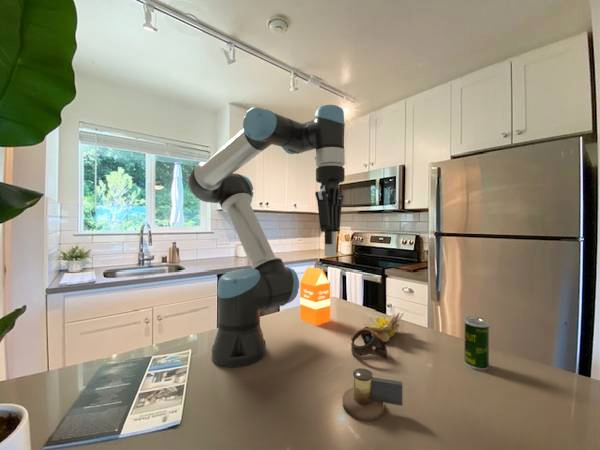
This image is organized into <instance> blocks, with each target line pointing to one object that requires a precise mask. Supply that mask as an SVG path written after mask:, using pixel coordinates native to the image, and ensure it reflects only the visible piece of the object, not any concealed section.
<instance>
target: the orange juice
mask: <svg viewBox="0 0 600 450" xmlns="http://www.w3.org/2000/svg"><path fill="white" fill-rule="evenodd" d="M327 277H328V276H327V275H326V274H325V271H324V269H323V268H315V267H311V266H307V268H306V269H305V271H304V274H303V275H302V277H301V279H300V281H299V289H300V293H299V294H300V296H299V298H300V300H299V305H300V307H299V311H300V320H301V319H302V320H301V321H303V320H304V321H303V322H305V321H306V322H305V323H308V322H309V323H308V324H310V323H311V324H310V325H312V324H313V325H312V326H315V325H317V326H320V325H323V324H325V322H326V323H328V321H329V322H331V282H330V281H329V279H328V278H327ZM322 323H323V324H322ZM319 324H320V325H319Z"/></svg>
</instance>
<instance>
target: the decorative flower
mask: <svg viewBox="0 0 600 450" xmlns="http://www.w3.org/2000/svg"><path fill="white" fill-rule="evenodd" d="M404 314H405V313H404V312H403V313H401V314H400V312H398V313H394V314H392V315H390V316H389V317H388V316H379V317H374V316H373V317H370V318H369V321H370V322H369V323H364V324H363V326H365V327H368V328H369V329H371V330H373V331H374V332H375V333H377V334H378V335H379V336H380V337H381V338H382V339H383V341H384V342H388V341H389V340H390V338H392V337H394V335H395V333H396V332H399V328H400V326H401V325H400V324H399V322H400V320H401V319H402V318H403V315H404ZM395 331H396V332H395Z"/></svg>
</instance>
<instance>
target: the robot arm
mask: <svg viewBox="0 0 600 450" xmlns="http://www.w3.org/2000/svg"><path fill="white" fill-rule="evenodd" d="M242 121H243V122H242V128H243V129H241V130H240V131H239V132H238V133H237V134H236V135H235V136H233V137H232V138H231V139H230V140H229V141H228V142H226V144H225V145H223V146H222V147H221V148H220V149H219V150H218V151H217V152H215V154H213V155H212V156H211V157H210V158H209V159H208V160H207V161H205V162H200V163H198V164H197V165H196V166H195V167H194V168H193V169H192V170H191V171H190V174H189V175H188V187H189V189H190V192H191V193H192V195H193V196H195V198H197V199H198V200H200V201H201V202H204V203H210V204H211V203H214V204H219V205H220V207H221V210H222V212H224V213H226V214H228V216H229V217H230V220H231V223H232V225H233V228H234V229H235V231H236V234H237V237H238V239H239V241H240V244H241V246H242V248H243V250H244V252H245V255H246V258H247V260H248V263H249V264H250V267H251V268H242V269H241V268H239V269H235V270H232V271H227V272H226V273H223V274H222V275H221V276H220V277H219V278H218V282H217V292H216V294H217V332H216V336H215V338H214V339H215V340H214V342H213V345H212V348H211V359H212V362H213V363H214V364H216V365H219V366H221V367H224V368H225V367H226V368H240V367H245V366H251V365H252V364H255V363H257V362H259V361H261V360H262V359H263V358H264V357H265V356H266V354H267V343H266V340H265V339H264V333H263V331H262V327H261V320H260V319H261V312H262V313H263V312H265V311H267V310H271V309H274V308H278V307H283V306H285V305H287V304H290V303H291V302H293V301H294V300H295V299H296V298H297V296H298V294H299V289H300V279H299V276H298V273H297V272H296V271H295V269H293V268H291V267H289V266H285V263H284V262H283V260H282V258H279V257H277V256H275V253H274V251H273V250H272V249H273V248H272V247H271V244H270V243H269V240H268V238H267V236H266V234H265V232H264V231H263V228H262V226H261V224H260V221H259V219H258V218H257V215H256V213H255V212H254V210H253V208H252V205H251V204H252V201H253V198H254V186H253V183H252V181H251V180H250V179H249V177H247V176H246V175H243V174H240V173H235V172H236V171H237V170H239V169H240V168H242V167H243V166H244V165H246V164H247V163H248V162H250V161H251V160H252V159H254V158H256V156H257V155H258V156H259V154H260V153H262V152H263V151H265V150H266V149H267V148H269V147H270V146H272V145H273V146H277V147H281V148H282V149H283V150H284V151H285V153H287V154H289V155H296V154H297V155H299V154H303V153H306V152H309V151H314V150H315V157H314V159H315V166H316V169H315V181H316V183H319V184H320V187H319V191H315V192H314V195H315V198H316V201H317V209H318V220H319V228H320V232H321V233H322V232H323V233H324V257H330V258H335V257H337V232H340V231H341V228H340V227H341V217H342V206H343V199H344V195H342V194H340V193H341V190H340V186H339V185H340V183H343V182H344V181H345V180H346V179H345V178H346V177H345V168H344V166H345V164H346V163H345V162H346V161H345V159H346V157H345V152H346V151H345V126H346V124H345V112H344V110H343V108H342V107H340V106H339V105H336V104H325V105H322V106H319V107H318V108H317V109H316V110H315V115H314V119H312V120H310V121H307V122H304V123H301V122H298V121H296V120H294V119H290V118H289V117H285V116H282V115H280V114H278V113H275V112H273V111H272V110H269V109H267V108H261V107H258V106H253V107H251V108H250V109H248V110H247V111H246V115H245V116H244V117H243V120H242Z"/></svg>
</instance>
